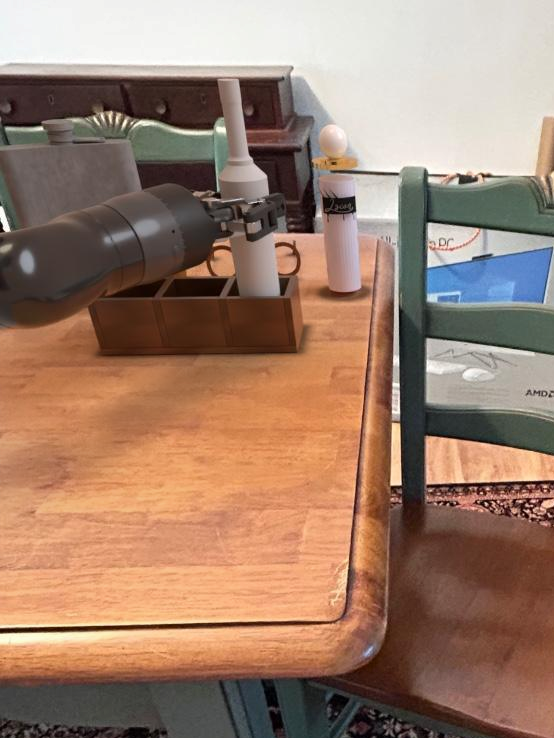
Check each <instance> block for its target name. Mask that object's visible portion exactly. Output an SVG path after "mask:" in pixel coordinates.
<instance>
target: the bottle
mask: <svg viewBox="0 0 554 738" xmlns="http://www.w3.org/2000/svg"><path fill="white" fill-rule="evenodd" d="M217 86H218V93H219V99H220V103H221V108H222V115H223V121H224V127H225V133H226V140H227V146H228V153H229V157H228V158H226V162H227V163H226V165H225V167H224V168H223V170H222V171H221V173H219V175H218V176H217V182H218V188H219V191H220V193H221V199H223V198H230V197H236V196H238V197H241V198H244V199H246V200H251V199H257V198H261V197H264V196H268V195H270V189H269V181H268V175H267V174H266V173H265V172H264V171H263V170H262V169H261V168H260V167H259V166H257V165H256V164H255V163H254V159H253V157H252V156H250V153H249V147H248V139H247V133H246V132H247V131H246V127H245V119H244V112H243V106H242V95H241V88H240V87H241V86H240V80H239V79H238V78H218V79H217ZM231 207H232V208H233V209H234V212H235V218H236V219H238V218H237V212H236V206H235V205H233V206H231ZM252 208H254V207H251V208H249V209H248V210H250V209H252ZM228 241H229V247H231V252H232V253H231V252H230V253H231V256H232V262H233V268H234V274H235V273H236V279H237V284H238V289H239V295H240V296H280V287H279V278H278V272H279V270H278V264H277V263H278V261H277V253H276V249H275V243H276V242H275V235H274V231H273V232H271V233H270V234H268V235H266V236H265V237H263V238H261V239H259V240H258V241H255V242H250V241H246V235H243V236H237V237H232V238H228Z"/></svg>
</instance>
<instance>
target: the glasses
mask: <svg viewBox="0 0 554 738" xmlns="http://www.w3.org/2000/svg"><path fill="white" fill-rule="evenodd" d="M274 243H275V250H276V249H277V248H280V247H285V248H288V249H290V250H292V255H295V258H296V265H295V268H294V269H293V270H292V271H291V272H288V273H281V272H279V271H278V276H285V275H290V276H291V275H297V274H299V271H300V270H301V265H302V260H301V255H300V252H299V250H298V248H297V243H296V240H294V239H293V240H292V243H290V242H287V241H279V242H274ZM222 250H223V251H228V252H229V253H230V254H232V252H231V247H230V245H226V244H220V245H219V244H217V245H215V246H214V245H213V247H212V249H211V252H210V255H209V257H208V258H207V259H206V261H205V264H206V268H207V270H208V273H209V274H210V276H219V275H218V274H216V273H215V271H214V269H213V267H212V265H211V260H215V253H216V252H217V251H222ZM231 276H236V273H235V272H234V273H233V274H232V275H231Z"/></svg>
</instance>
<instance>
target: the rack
mask: <svg viewBox="0 0 554 738" xmlns="http://www.w3.org/2000/svg"><path fill="white" fill-rule="evenodd" d="M278 278H279V287H280V296H240V295H239V289H238V284H237V279H236V276H232V275H218V276H211V275H204V276H203V275H195V276H194V275H192V276H191V275H190V276H189V275H187V276H177V277H166V278H164V279H161V280H158V281H156V282H153V283H149V284H143V285H138V286H134V287H132V288H129V289H126V290H124V291H121V292H118V293H116V294H113V295H110V296H107V297H103V298H99V299H98V300H96V301H95V302H94V303H93V304H91V305H89V306H88V307H87V310H88V314H89V317H90V321H91V324H92V327H93V330H94V332H95V336H96V339H97V342H98V345H99V349H100V352H101V355H102V356H129V355H135V356H136V355H137V356H138V355H139V356H140V355H195V354H196V355H197V354H199V355H201V354H203V355H205V354H260V353H261V354H262V353H263V354H267V353H268V354H269V353H273V354H274V353H298V351H299V347H300V343H301V339H302V335H303V331H304V328H305V327H304V318H303V311H302V302H301V294H300V287H299V285H300V284H299V277H298V275H297V274H296V275H291V276H290V275H285V276H278Z"/></svg>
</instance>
